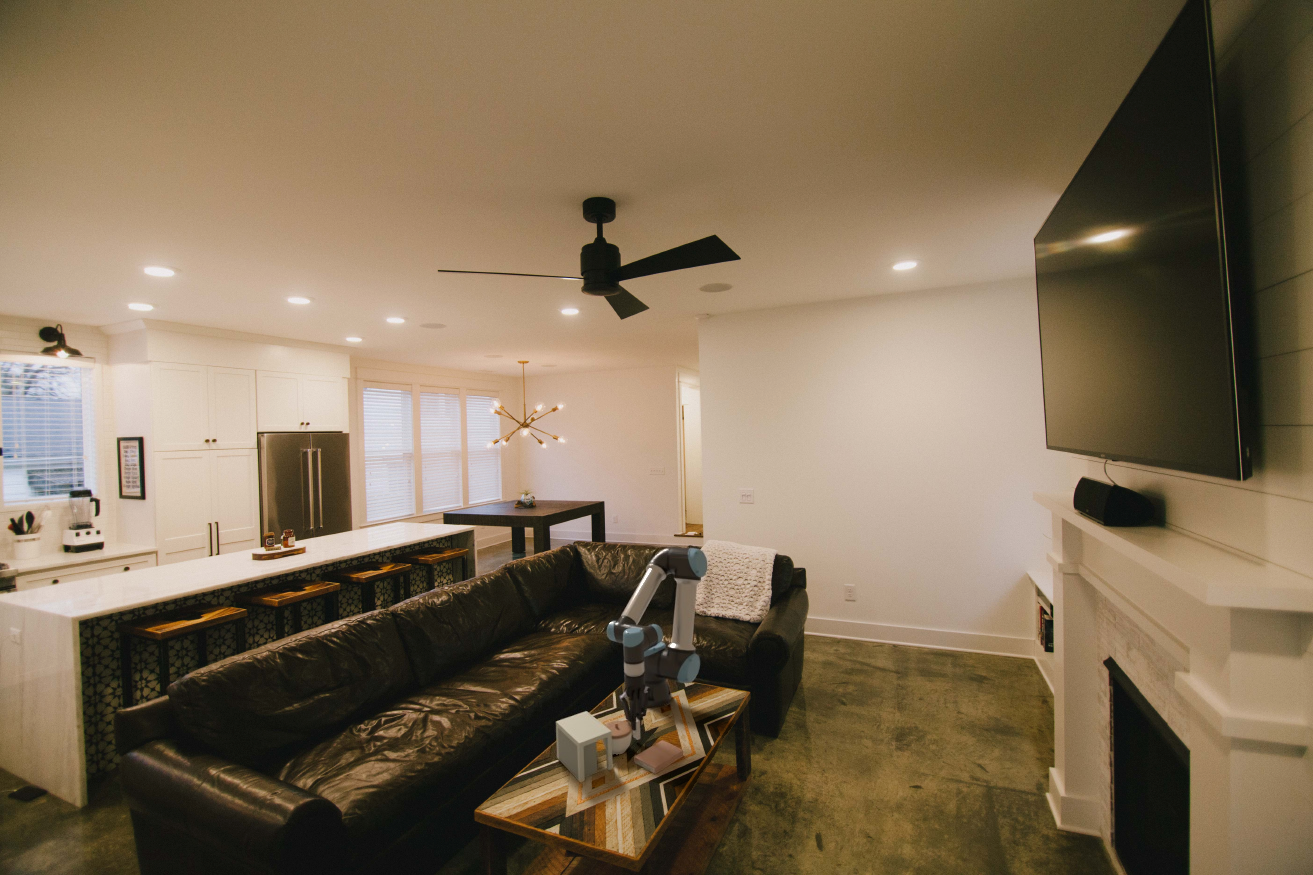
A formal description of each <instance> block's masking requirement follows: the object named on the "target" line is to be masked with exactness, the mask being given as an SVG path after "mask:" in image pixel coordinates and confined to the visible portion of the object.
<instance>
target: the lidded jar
mask: <svg viewBox="0 0 1313 875" xmlns="http://www.w3.org/2000/svg"><path fill="white" fill-rule="evenodd" d="M603 725H604V726H606V727H607V728H608V729H609V730H611V734H612V755H614V754H616V755H618V754H619V755H621V754H624V753H625V752H626V751H627V749H628V748H629V746H630V745H631V742H632V737H633V730H632V726H631V723H630V722H627V721H625V720H612V721H609V722H607V723H605V724H603ZM602 744H603V746H604V748H605V749H606V738H604V739H602Z"/></svg>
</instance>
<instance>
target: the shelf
mask: <svg viewBox="0 0 1313 875" xmlns="http://www.w3.org/2000/svg"><path fill="white" fill-rule="evenodd" d="M604 725H605V724H603V723H602V722H601V721H599V720H598V719H597V718H595V716H593V715H592V713H590V712H588V711H586V710H585V711H583V712H580V713H577V714H574V715H572V716H568V717H565V718H561V719H560V720H557V721H555V733H556V734H555V735H556V736H555V737H556V758H557V759H558V760H559V762H561V764H562V765H563V766H564V767H565V768H566V769H567V770H568V771H569V772H570V773H571V774H572V775H573V776H574V777H575V778H576V780H577V781H579V783H583V782H585V778H587V777H589V776H592V775H594V774H597V773H598V755H597V754H598V748H597V742H599V741H601V740H602V741H603V739H604V738H606V748H605V760H606V763H605V764H606V769H607V770H608V771H611V770H613V769H614V766H613V764H614V763H613V754H612V734H611V730H609V729H608V728H607V727H606V726H604Z"/></svg>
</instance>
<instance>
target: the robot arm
mask: <svg viewBox="0 0 1313 875" xmlns="http://www.w3.org/2000/svg"><path fill="white" fill-rule="evenodd" d="M645 571H646V572H645V573H644V575H643V577H642V579H641V580H640V582H639V584H638V585H637V587H636V589H635V590H634V592H633V594H632V595H631V597H630V599H629V601H628V603H627V604H626V607H625V608H624V610H623V611H622V613H621V615H620V616H619V619H618V620H612V621H611V622H609V623H608V625H607V628H606V635H607V638H608V639H609V640H610V641H613V642H616V643H622V645H623V669H624V670H623V672H624V673H623V674H624V675H623V676H624V677H623V678H624V687H625V688H624V689H623V690H624V691H623V693H622V694H620V695H619V696H618V698H619V700H620V702H621V705H622V708H623V711H624V712H623V713H624V717H625V720H627V721H629V723H630V725H631V726H632V737H633V738H634V739H635V740H637V741H639V740H641V728H642V726H643V725H642V724H643V723H642V722H643V721H644V717H646V716H647V711H648V708H656V707H662V706H665V705H668V704H669V703H671V701H672V692H671V688H670V685H669V683H668V680H670V681H673V682H674V681H675V682H677V683H680V684H690V683H693V681H694V680H695V679H696V677H697V675H698V674H699V670H700V668H701V667H700V666H701V658H700V656H699V655H698V654H697V653H696V647H695V646H694V645H693V640H694V639H693V638H694V629H695V628H694V627H695V625H694V624H695V613H696V600H697V589H698V585H699V583H700V582H701V581H702V578H703V577H705V576H706V574H707V572H708V560H707V557H706V555H705V552H704V551H703V550H702V549H699V548H695V547H694V548H693V547H681V546H679V547H677V546H667V547H665V548H662V549H661V550H660V551H658V552H657V553H656V554H655V555H654V556H653V557H651V559H650V561H649V562H648V564H647V565H646V567H645ZM671 574H672V575H673V580H674V581H676V589H675V601H674V603H675V604H674V612H673V613H674V614H673V625H672V637H671V642H670V643H669V644H668V645H666V643H665V642H664V641H663V639H664V632H663V628H662V627H661V626H659V624H656V623H655V624H654V623H652V624H649V625H648V626H647V625H645V626H644V625H639V622H640V621H641V619H642V617H643V615H644V613H645V611H646V609H648V608H647V607H648V606H649V604H650V602H651V600H652V598H653V597H654V595H655V593H656V591H657V589H658V588H659V586H660V584H661V582H662V581H664V580H666V578H667V576H668V575H671ZM628 701H629V702H628Z"/></svg>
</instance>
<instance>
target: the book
mask: <svg viewBox="0 0 1313 875" xmlns="http://www.w3.org/2000/svg"><path fill="white" fill-rule="evenodd" d="M682 757H684V749H682V748H680V747H678V746H676V745H673V744H671V743H670V742H668V741H666V740H663V739H662V740H660V741H659V742H656V743H654V744H653V745H652V746H650V747H648V748H646V749H645V750H643V751H642V752H640V753H638V754H636V755H634V756H633V758H634V759H633V760H634V761H633V762H634V764H636V765H638V766H640V767H641V768H644V769H645V770H647V771H648V772H651V773H652V774H654V775H657V774H658V773H659V772H661V771H662V770H664V769H665V768H667V767H669V766H670V765H672V764H673V763H675V762H676V761H677V760H679V759H681V758H682Z"/></svg>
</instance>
